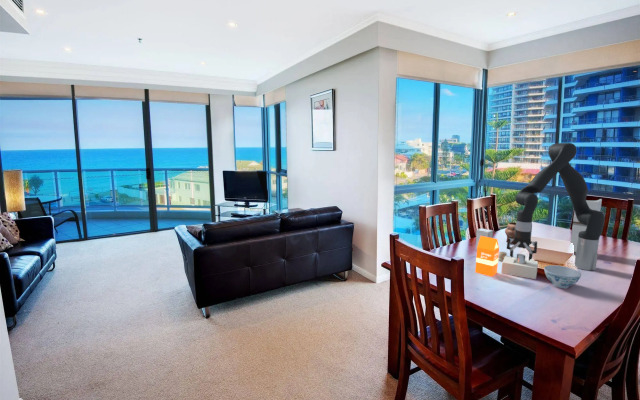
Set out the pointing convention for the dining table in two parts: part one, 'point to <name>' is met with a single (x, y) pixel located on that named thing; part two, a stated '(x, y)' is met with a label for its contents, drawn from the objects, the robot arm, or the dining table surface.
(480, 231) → the skincare box
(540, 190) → the robot arm
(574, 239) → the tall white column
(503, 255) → the short pin
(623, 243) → the dining table surface
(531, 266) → the hole block
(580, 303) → the dining table surface
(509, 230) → the decorative planter
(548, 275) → the chinaware
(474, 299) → the dining table surface
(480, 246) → the orange juice
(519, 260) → the long pin
